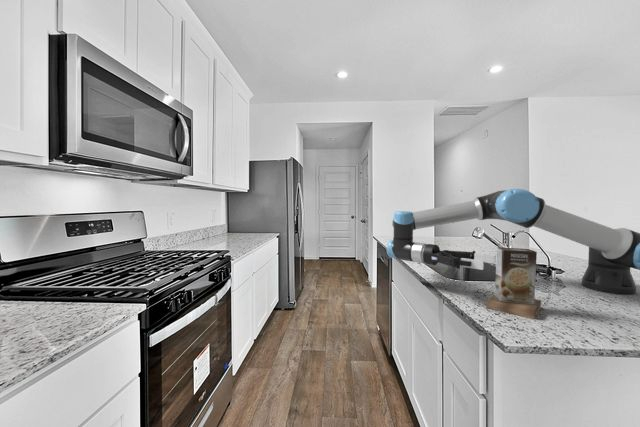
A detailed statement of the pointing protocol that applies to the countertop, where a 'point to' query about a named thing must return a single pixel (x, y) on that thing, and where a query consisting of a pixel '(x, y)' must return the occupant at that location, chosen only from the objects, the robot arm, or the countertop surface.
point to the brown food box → (515, 275)
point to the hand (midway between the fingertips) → (489, 262)
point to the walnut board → (514, 307)
